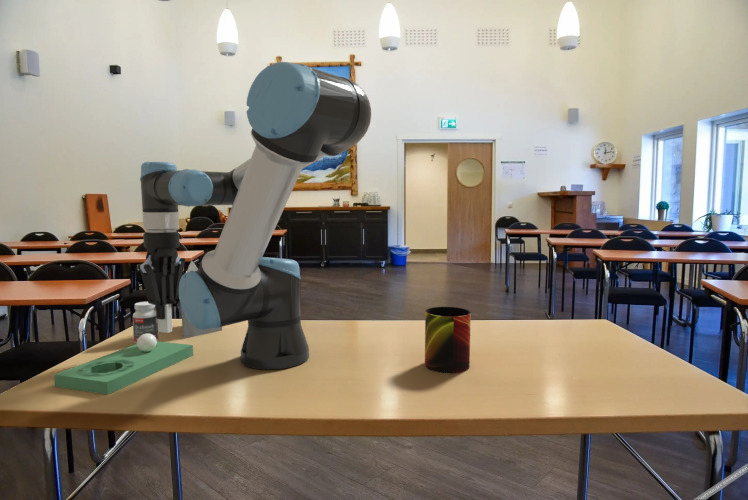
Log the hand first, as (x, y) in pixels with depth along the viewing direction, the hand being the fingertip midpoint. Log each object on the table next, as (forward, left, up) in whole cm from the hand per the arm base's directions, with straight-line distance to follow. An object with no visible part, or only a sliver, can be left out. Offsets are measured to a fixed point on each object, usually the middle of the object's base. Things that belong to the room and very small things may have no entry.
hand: (165, 331), depth 112 cm
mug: (-63, -14, -6) cm, 65 cm away
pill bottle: (+12, -6, -6) cm, 14 cm away
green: (0, +11, -5) cm, 12 cm away
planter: (+4, -20, -6) cm, 21 cm away
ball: (0, +6, -1) cm, 6 cm away
